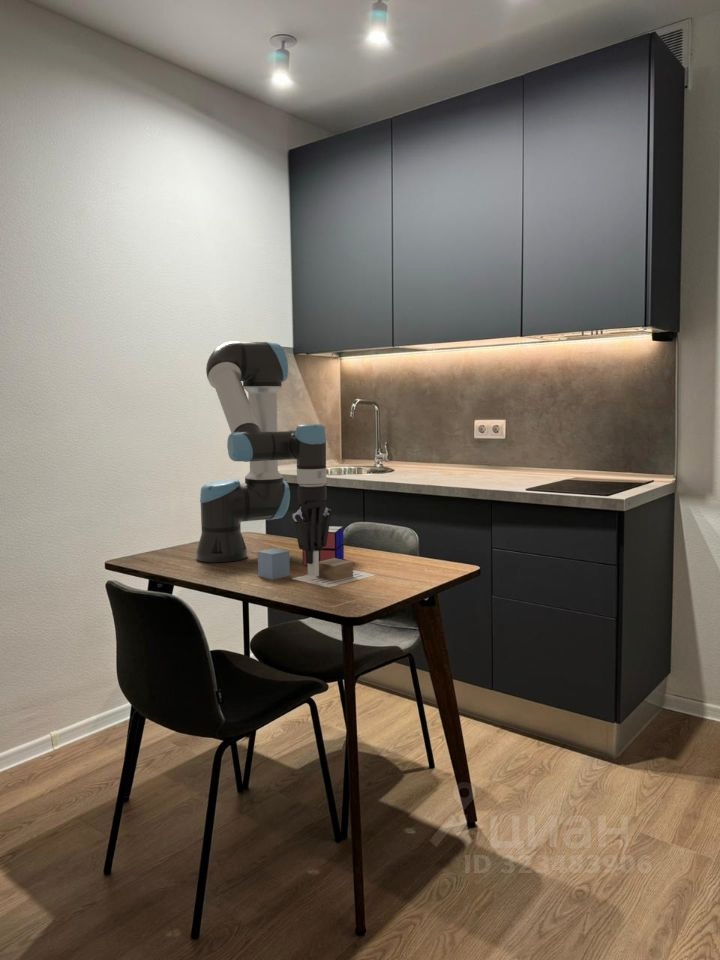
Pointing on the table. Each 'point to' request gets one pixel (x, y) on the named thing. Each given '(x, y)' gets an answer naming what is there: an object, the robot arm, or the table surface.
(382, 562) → the table surface
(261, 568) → the slate-blue cube
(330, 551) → the puzzle cube
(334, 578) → the walnut block
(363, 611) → the table surface
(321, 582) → the letter
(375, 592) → the table surface
